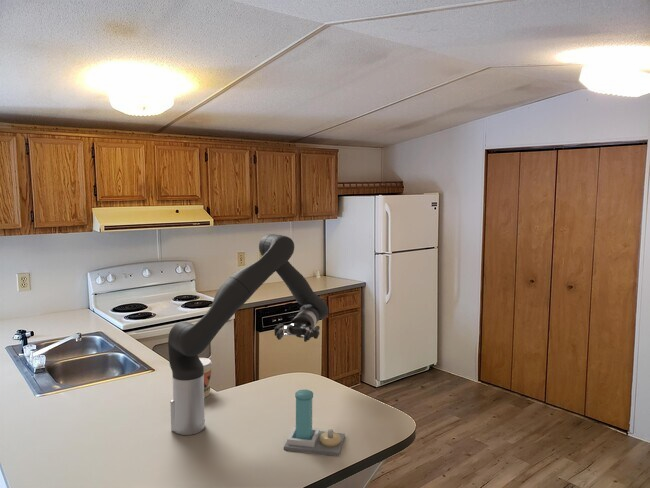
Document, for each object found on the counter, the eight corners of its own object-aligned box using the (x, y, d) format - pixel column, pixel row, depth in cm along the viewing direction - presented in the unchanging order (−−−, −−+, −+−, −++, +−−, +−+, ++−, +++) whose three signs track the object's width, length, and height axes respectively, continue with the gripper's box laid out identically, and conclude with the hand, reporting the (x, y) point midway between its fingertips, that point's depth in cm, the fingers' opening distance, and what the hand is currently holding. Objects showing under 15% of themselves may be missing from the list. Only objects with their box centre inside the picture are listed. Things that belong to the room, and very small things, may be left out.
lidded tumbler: (293, 442, 145) (293, 396, 143) (297, 433, 150) (297, 389, 148) (310, 444, 144) (311, 397, 142) (314, 435, 149) (314, 390, 147)
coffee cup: (193, 402, 173) (192, 368, 171) (181, 393, 180) (180, 361, 178) (217, 394, 179) (216, 362, 177) (204, 386, 186) (204, 355, 184)
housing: (283, 449, 142) (284, 435, 142) (293, 431, 153) (293, 417, 153) (339, 456, 140) (339, 441, 139) (345, 436, 150) (345, 422, 150)
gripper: (283, 311, 172) (269, 324, 156) (324, 314, 169) (314, 327, 153) (283, 332, 173) (269, 347, 157) (324, 335, 170) (314, 351, 154)
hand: (291, 337), depth 155 cm, fingers open, 8 cm apart
